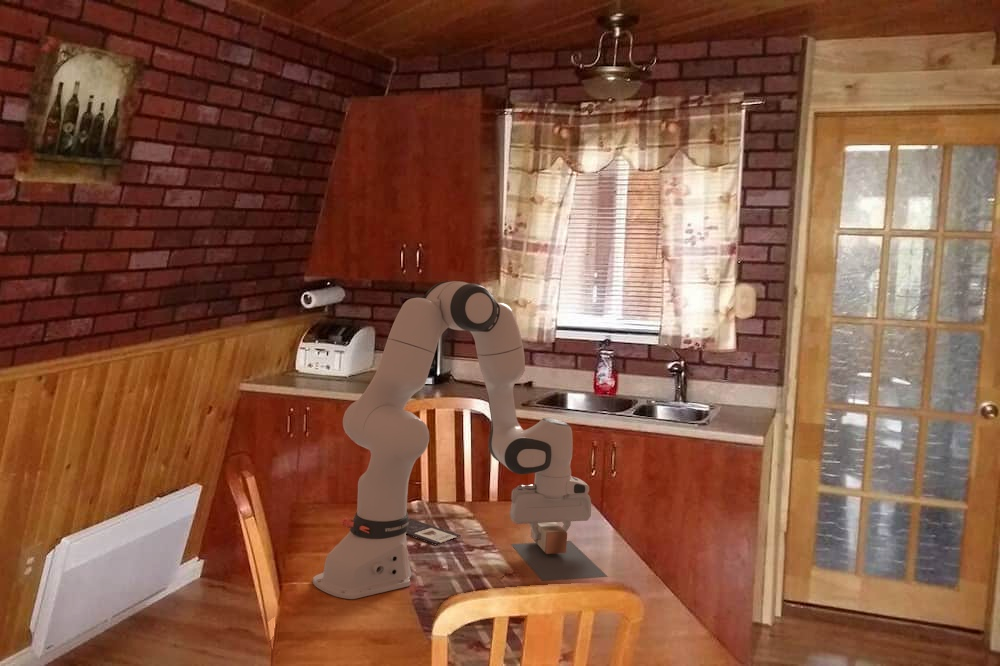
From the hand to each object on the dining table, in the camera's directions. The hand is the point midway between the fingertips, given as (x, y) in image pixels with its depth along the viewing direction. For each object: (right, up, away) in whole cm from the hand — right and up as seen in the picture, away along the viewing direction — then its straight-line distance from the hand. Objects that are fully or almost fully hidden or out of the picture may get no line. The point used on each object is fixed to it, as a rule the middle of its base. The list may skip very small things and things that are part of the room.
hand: (549, 538), depth 225 cm
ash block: (-2, +2, +6) cm, 7 cm away
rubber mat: (+2, -4, -5) cm, 7 cm away
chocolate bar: (-32, -2, +11) cm, 34 cm away
